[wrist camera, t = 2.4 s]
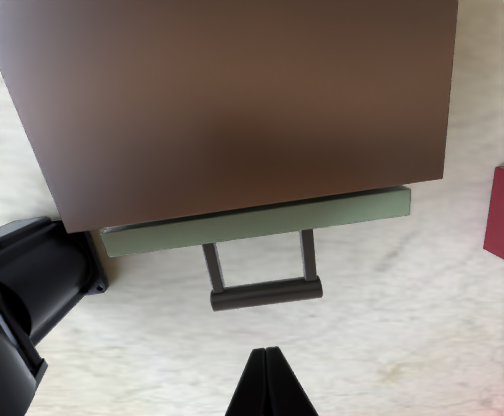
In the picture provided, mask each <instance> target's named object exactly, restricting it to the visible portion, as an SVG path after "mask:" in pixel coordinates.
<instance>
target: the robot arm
mask: <svg viewBox="0 0 504 416" xmlns="http://www.w3.org/2000/svg"><path fill="white" fill-rule="evenodd" d="M100 285H101V286H102V287H103V288H102V287H100ZM108 287H109V284H108V282H107V279H106V276H105V274H104V271H103V269H102V266H101V263H100V261H99V258H98V256H97V253H96V250H95V248H94V245H93V243H92V240H91V237H90V235H89V232H88V231H81V232H74V233H67V231H66V228H65V226H64V224H63V221H62V219H54V220H51V218H49V217H46V216H45V217H38V218H31V219H25V220H18V221H13V222H11V223H9V224H6V225H4V226H1V227H0V416H24V415H25V414H26V412H27V410H28V408H29V406H30V404H31V402H32V400H33V397H34V395H35V392H36V390H37V388H38V386H39V384H40V381H41V379H42V377H43V375H44V373H45V371H46V369H47V367H48V365H47V363H46V361H45V359H44V358H41V357H40V355H39V353H38V352H37V350H36V348H35V346H36V345H37V344H38V343H39V342H40V341H41V340H42V339H43V338H44V337H45V336H46V335H47V334H48V333H49V332H50V331H51V330H52V329H53V328H54V327H55V326H56V325H57V324H58V323H59V322H60V321H61V319H62V318H63V317H64V316H65V315H66V314H67V313H68V312H69V311H70V310H71V309H72V308H73V307H74V306H75V305H76V304H77V303H78V302H79V301H80V300H81V299H82V298H83V297H84V296H85V295H93V294H100V293H104V292H105V291H106V290H107V289H108ZM225 416H319V415H318V414H317V412H316V410H315V408H314V407H313V405H312V403H311V402H310V400H309V398H308V396H307V395H306V393H305V391H304V390H303V388H302V386H301V384H300V383H299V381H298V379H297V378H296V376H295V374H294V372H293V371H292V369H291V367H290V365H289V364H288V362H287V360H286V359H285V357H284V355H283V353H282V352H281V350H280V348H279V347H277V346H275V347H268V348H266V350H265V348H259V349H253V350H252V352H251V354H250V357H249V359H248V361H247V364H246V366H245V369H244V371H243V373H242V376H241V378H240V380H239V383H238V385H237V388H236V390H235V392H234V395H233V397H232V399H231V402H230V404H229V407H228V409H227V411H226V414H225Z"/></svg>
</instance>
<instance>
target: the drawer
mask: <svg viewBox="0 0 504 416" xmlns="http://www.w3.org/2000/svg"><path fill="white" fill-rule="evenodd" d="M410 201H411V189H410V188H407V187H405V186H402V185H396V186H389V187H383V188H376V189H369V190H362V191H355V192H348V193H342V194H335V195H328V196H321V197H314V198H307V199H300V200H294V201H287V202H280V203H273V204H266V205H259V206H252V207H246V208H239V209H232V210H225V211H218V212H211V213H205V214H198V215H191V216H184V217H177V218H170V219H163V220H157V221H150V222H143V223H136V224H129V225H122V226H115V227H109V228H108V229H106V230H105V231H103V232H102V233H101V234H100V236H101V239H102V241H103V244H104V247H105V250H106V252H107V255H108V257H116V256H123V255H130V254H137V253H144V252H151V251H158V250H165V249H172V248H180V247H187V246H194V245H201V244H202V247H203V251H204V255H205V259H206V264H207V268H208V272H209V276H210V281H211V285H212V290H211V295H210V301H211V307H212V310H213V311H223V310H230V309H238V308H246V307H253V306H261V305H269V304H277V303H284V302H292V301H300V300H307V299H315V298H321V297H322V296H323V290H322V284H321V281H320V278H319V276H318V275H316V263H315V251H314V238H313V229H314V228H322V227H329V226H336V225H343V224H350V223H357V222H364V221H371V220H378V219H385V218H393V217H400V216H407V215H410ZM293 231H299V233H300V243H301V253H302V263H303V273H304V277H298V278H290V279H283V280H275V281H268V282H260V283H253V284H245V285H238V286H230V287H225V284H224V279H223V274H222V270H221V265H220V261H219V256H218V251H217V247H216V242H222V241H229V240H236V239H243V238H251V237H258V236H265V235H272V234H279V233H286V232H293Z"/></svg>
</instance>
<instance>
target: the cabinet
mask: <svg viewBox="0 0 504 416" xmlns="http://www.w3.org/2000/svg"><path fill="white" fill-rule="evenodd" d="M457 9H458V0H0V71H1V74H2V76H3V79H4V81H5V84H6V86H7V88H8V91H9V93H10V96H11V98H12V100H13V103H14V105H15V108H16V110H17V112H18V115H19V117H20V120H21V122H22V125H23V127H24V129H25V132H26V134H27V137H28V139H29V141H30V144H31V146H32V149H33V151H34V154H35V156H36V158H37V161H38V163H39V166H40V168H41V170H42V173H43V175H44V178H45V180H46V183H47V185H48V187H49V190H50V192H51V195H52V197H53V199H54V202H55V204H56V207H57V209H58V211H59V214H60V216H61V219H62V221H63V224H64V226H65V228H66V231H67V233H74V232H81V231H88V230H95V229H102V228H109V227H115V226H122V225H129V224H136V223H143V222H150V221H157V220H163V219H170V218H177V217H184V216H191V215H198V214H205V213H211V212H218V211H225V210H232V209H239V208H246V207H252V206H259V205H266V204H273V203H280V202H287V201H294V200H300V199H307V198H314V197H321V196H328V195H335V194H342V193H348V192H355V191H362V190H369V189H376V188H383V187H389V186H396V185H403V184H410V183H417V182H424V181H431V180H437V179H442V178H443V171H444V159H445V148H446V136H447V125H448V113H449V102H450V90H451V78H452V67H453V55H454V44H455V32H456V21H457Z"/></svg>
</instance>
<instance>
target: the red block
mask: <svg viewBox="0 0 504 416" xmlns="http://www.w3.org/2000/svg"><path fill="white" fill-rule="evenodd" d="M483 249H485V250H487V251H489V252H491V253H493V254H494V255H496V256H498V257H500V258H502V259H504V166H501V167H496V168H495V174H494V181H493V187H492V194H491V200H490V207H489V214H488V220H487V227H486V234H485V240H484V247H483Z"/></svg>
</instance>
